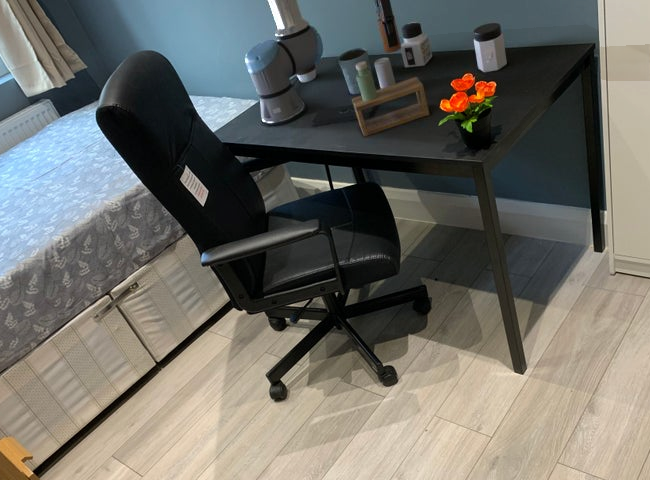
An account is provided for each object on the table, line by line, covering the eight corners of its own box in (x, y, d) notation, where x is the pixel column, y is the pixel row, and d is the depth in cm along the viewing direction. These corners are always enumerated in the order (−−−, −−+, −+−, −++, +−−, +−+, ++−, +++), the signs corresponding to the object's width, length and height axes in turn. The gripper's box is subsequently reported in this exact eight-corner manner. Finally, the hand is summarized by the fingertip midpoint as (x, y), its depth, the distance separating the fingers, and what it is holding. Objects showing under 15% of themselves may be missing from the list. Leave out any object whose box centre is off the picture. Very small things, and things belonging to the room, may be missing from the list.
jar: (476, 74, 197) (470, 35, 190) (480, 63, 203) (474, 26, 195) (505, 69, 193) (500, 30, 186) (508, 59, 199) (503, 20, 192)
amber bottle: (383, 49, 176) (372, 5, 169) (399, 44, 176) (389, 0, 169) (387, 54, 172) (375, 9, 165) (402, 48, 172) (392, 3, 165)
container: (424, 65, 215) (416, 27, 207) (404, 67, 219) (395, 30, 211) (432, 56, 220) (425, 18, 212) (412, 58, 223) (404, 21, 216)
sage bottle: (361, 97, 183) (352, 64, 177) (376, 92, 183) (366, 58, 177) (364, 102, 180) (354, 68, 174) (378, 97, 179) (369, 63, 173)
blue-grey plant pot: (372, 79, 218) (363, 45, 211) (379, 88, 210) (370, 52, 203) (345, 89, 218) (335, 55, 211) (350, 98, 210) (340, 63, 203)
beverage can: (397, 99, 199) (387, 62, 191) (382, 101, 200) (372, 65, 193) (399, 92, 202) (390, 56, 195) (385, 95, 204) (375, 59, 196)
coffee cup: (296, 77, 243) (285, 46, 236) (323, 70, 241) (313, 38, 234) (292, 87, 235) (281, 56, 227) (320, 80, 232) (310, 48, 225)
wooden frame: (359, 126, 190) (351, 98, 185) (422, 105, 190) (416, 76, 184) (364, 136, 184) (355, 107, 178) (429, 114, 183) (422, 85, 178)
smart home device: (370, 111, 192) (311, 121, 199) (371, 117, 193) (312, 126, 200) (376, 100, 198) (318, 109, 205) (377, 105, 199) (320, 114, 206)
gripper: (391, -49, 152) (412, 47, 166) (377, -58, 166) (397, 31, 180) (361, -39, 152) (385, 56, 166) (350, -49, 166) (372, 39, 180)
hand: (391, 43), depth 173 cm, fingers closed on amber bottle, 5 cm apart
